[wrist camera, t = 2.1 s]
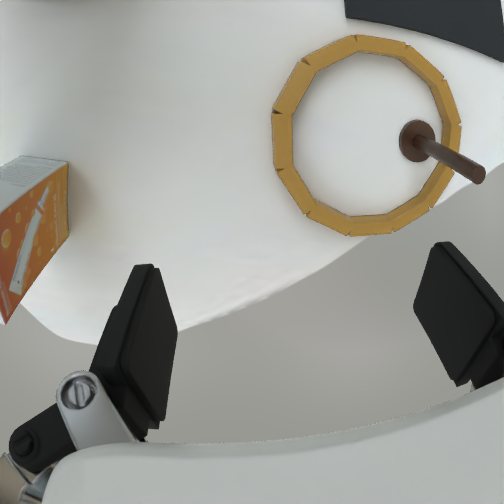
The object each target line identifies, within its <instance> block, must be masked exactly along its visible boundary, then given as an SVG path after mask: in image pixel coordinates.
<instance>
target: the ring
mask: <svg viewBox="0 0 504 504" xmlns="http://www.w3.org/2000/svg"><path fill="white" fill-rule="evenodd" d="M356 52H362V53H370V54H377V55H384V56H390V57H396V58H398V59H399V60H400V61H402V62H403V63H404V64H405V65H407V66H408V67H409V68H410V69H411V70H412V71H414V72H415V73H416V74H417V75H418V76H419V77H421V78H422V79H423V80H424V81H425V82H426V83H427V84H428V85H429V87H430V89H431V92H432V94H433V97H434V99H435V102H436V104H437V107H438V110H439V113H440V115H441V118H442V121H443V131H442V141H441V144H442V145H444V146H446V147H448V148H450V149H452V150H454V151H456V152H458V153H459V146H460V137H461V128H462V127H461V126H459V125H458V124H459V123H461V120H460V117H459V114H458V111H457V108H456V105H455V102H454V99H453V96H452V93H451V91H450V88H449V85H448V83H447V80H444V79H443V78H444V76H443V75H442V74H441V73H440V72H439V71H438V70H437V69H436V68H435V67H434V66H433V65H432V64H431V63H430V62H429V61H427V60H426V59H425V58H424V57H423V56H422V55H421V54H420V53H418V52H417V51H416V50H415V49H414V48H413V47H411V46H410V45H406V44H405V42H400V41H395V40H390V39H385V38H379V37H373V36H366V35H359V34H357V35H350V36H346V37H344V38H342V39H340V40H337V41H335V42H333V43H331V44H329V45H327V46H325V47H323V48H321V49H319V50H317V51H315V52H313V53H311V54H309V55H307V56H305V57H303V58H302V61H300V62H297V64H296V66H295V68H294V69H293V71H292V73H291V75H290V77H289V78H288V80H287V82H286V84H285V85H284V87H283V89H282V91H281V93H280V94H279V96H278V98H277V100H276V102H275V104H274V105H273V107H272V108H273V109H274V110H275V111H277V112H272V113H271V120H272V141H273V163H274V166H275V170H276V172H277V174H278V176H279V177H280V179H281V180H282V182H283V183H284V185H285V186H286V188H287V189H288V191H289V192H290V194H291V195H292V197H293V198H294V200H295V201H296V203H297V205H298V206H299V208H300V209H301V211H302V212H303V214H306V216H307V217H308V218H310V219H312V220H314V221H316V222H318V223H321V224H323V225H325V226H327V227H329V228H331V229H333V230H335V231H337V232H339V233H341V234H343V235H345V236H347V235H348V234H349V236H364V235H377V234H390V233H391V231H392V230H393V231H394V232H396V231H397V230H399V229H401V228H402V227H404V226H406V225H407V224H409V223H411V222H412V221H414V220H415V219H417V218H419V217H420V216H422V215H423V214H425V213H427V212H428V211H429V208H428V206H430V207H431V208H433V206H434V205H435V203H436V202H437V200H438V199H439V197H440V196H441V194H442V193H443V191H444V189H445V188H446V186H447V185H448V183H449V182H450V180H451V178H452V177H453V175H454V172H453V171H452V170H451V168H450V167H448V166H446V165H445V164H443V163H441V162H440V161H439V163H438V165H437V166H436V168H435V170H434V171H433V173H432V174H431V176H430V178H429V179H428V181H427V182H426V184H425V185H424V187H423V188H422V190H421V192H420V193H419V195H418V196H416V197H414V198H413V199H411V200H409V201H408V202H406V203H405V204H403V205H401V206H400V207H398V208H396V209H395V210H393V211H391V212H390V213H388V214H386V215H367V216H347V215H345V214H343V213H341V212H339V211H337V210H335V209H333V208H331V207H330V206H328V205H326V204H324V203H322V202H320V201H318V200H316V199H314V198H313V197H312V195H311V194H310V192H309V190H308V189H307V187H306V185H305V184H304V182H303V181H302V179H301V177H300V176H299V174H298V173H297V171H296V169H295V168H294V166H293V140H292V115H293V113H294V111H295V109H296V108H297V106H298V104H299V102H300V101H301V99H302V97H303V95H304V93H305V92H306V90H307V88H308V86H309V85H310V83H311V81H312V79H313V78H314V76H315V74H316V72H318V71H320V70H322V69H323V68H325V67H327V66H329V65H331V64H333V63H335V62H337V61H339V60H341V59H343V58H345V57H347V56H349V55H352V54H354V53H356Z"/></svg>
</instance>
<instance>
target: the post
mask: <svg viewBox="0 0 504 504" xmlns="http://www.w3.org/2000/svg"><path fill="white" fill-rule="evenodd" d="M399 145H400V149H401V151H402V153H403V155H404V156H405V157H406V158H407V159H409V160H411V161H413V162H422V161H424V160H426V159H427V158H428V157H429V156H431V157H433V158H435V159H436V160H438V161H440V162H441V163H443V164H445V165H446V166H448V167H450V168H451V169H453V170H455V171H456V172H458V173H459V174H461V175H463V176H464V177H466V178H467V179H469V180H470V181H472V182H473V183H475V184H481V183H482V182H483V180H484V179H485V175H486V171H485V168H484V167H483V166H481V165H480V164H478V163H476V162H474V161H472V160H471V159H469V158H467V157H465V156H463V155H461V154H460V153H458V152H456V151H454V150H452V149H450V148H448V147H446V146H444V145H442V144H440V143H438V142H436V141H435V134H434V131H433V129H432V128H431V126H430V125H429V124H427V123H426V122H424V121H421V120H413V121H410V122H409V123H407V124H406V125H405V126H404V127H403V129H402V131H401V133H400V137H399Z"/></svg>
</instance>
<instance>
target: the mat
mask: <svg viewBox="0 0 504 504" xmlns="http://www.w3.org/2000/svg"><path fill="white" fill-rule="evenodd" d="M344 2H345V13H346V18H351V19H358V20H365V21H371V22H376V23H382V24H387V25H392V26H397V27H401V28H405V29H409V30H413V31H417V32H421V33H425V34H428V35H432V36H435V37H438V38H442V39H445V40H448V41H451V42H454V43H457V44H459V45H462V46H465V47H468V48H470V49H473V50H475V51H478V52H480V53H483V54H485V55H487V56H490V57H492V58H494V59H497V60H499V61H501V62H504V23H503V15H502V8H501V1H500V0H344Z"/></svg>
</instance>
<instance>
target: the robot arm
mask: <svg viewBox="0 0 504 504" xmlns="http://www.w3.org/2000/svg"><path fill="white" fill-rule="evenodd" d="M413 309H414V312H415V314H416V316H417V318H418V319H419V321H420V323H421V325H422V326H423V328H424V330H425V332H426V333H427V335H428V337H429V339H430V340H431V343H432V344H433V346H434V348H435V350H436V352H437V354H438V356H439V358H440V360H441V362H442V363H443V365H444V367H445V369H446V371H447V373H448V375H449V377H450V379H451V380H454V382H455V384H456V387H458V386H461V385H463V384H466V383H468V381H469V380H470V379H471V381H472V386H471V391H470V392H469V393H467V394H465V395H462V396H460V397H457V398H455V399H452V400H449V401H447V402H444V403H441V404H438V405H436V406H432V407H430V408H426V409H424V410H420V411H418V412H414V413H411V414H408V415H404V416H401V417H397V418H394V419H390V420H386V421H382V422H378V423H374V424H370V425H366V426H362V427H357V428H353V429H347V430H342V431H337V432H331V433H326V434H319V435H313V436H306V437H299V438H291V439H281V440H272V441H258V442H242V443H214V444H213V443H212V444H187V443H149V442H148V441H147V439H146V438H145V436H147V433H148V429H159V423H160V421H164V419H165V415H166V408H167V401H168V394H169V386H170V380H171V373H172V367H173V360H174V354H175V348H176V342H177V334H178V332H177V326H176V322H175V319H174V316H173V313H172V310H171V307H170V303H169V300H168V297H167V293H166V290H165V287H164V283H163V280H162V276H161V273H160V270H159V268H154V266H153V264H141V265H135V266H134V267H133V270H132V272H131V274H130V276H129V279H128V281H127V283H126V286H125V288H124V290H123V293H122V295H121V297H120V300H119V302H118V305H116V306H115V307H114V308H113V309H112V311H111V313H110V316H109V318H108V321H107V323H106V326H105V328H104V331H103V334H102V336H101V339H100V341H99V344H98V347H97V350H96V353H95V355H94V358H93V361H92V363H91V367H90V369H89V371H84V370H83V371H76V372H73V373H71V374H69V375H68V376H66V377H65V378H64V379H63V380H62V381H61V383H60V384H59V386H58V389H57V392H56V401H57V403H55V404H54V405H52V406H51V407H49V408H48V409H46V410H45V411H43V412H41V413H40V414H38V415H37V416H35V417H34V418H32V419H31V420H29V421H27V422H26V423H24V424H23V425H21V426H19V427H18V428H17V429H16V430H15V431H14V432H13V434H12V435H11V437H10V441H9V452H10V453H9V454H6V453H3V454H2V456H1V457H0V504H504V302H503V301H502V300H501V298H500V297H499V296H498V294H497V293H496V292H495V291H494V289H493V288H492V287H491V286H490V285H489V283H488V282H487V281H486V280H485V279H484V278H483V277H482V276H481V274H480V273H479V272H478V271H477V270H476V269H475V267H474V266H473V265H472V264H471V263H470V262H469V261H468V260H467V259H466V257H465V256H464V255H463V254H462V253H461V252H460V251H459V250H458V249H457V248H456V247H455V246H454V245H453V244H452V243H451V242H437V243H435V245H434V247H432V248H431V250H430V253H429V257H428V260H427V264H426V267H425V270H424V273H423V277H422V280H421V283H420V286H419V289H418V292H417V295H416V298H415V300H414V304H413Z"/></svg>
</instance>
